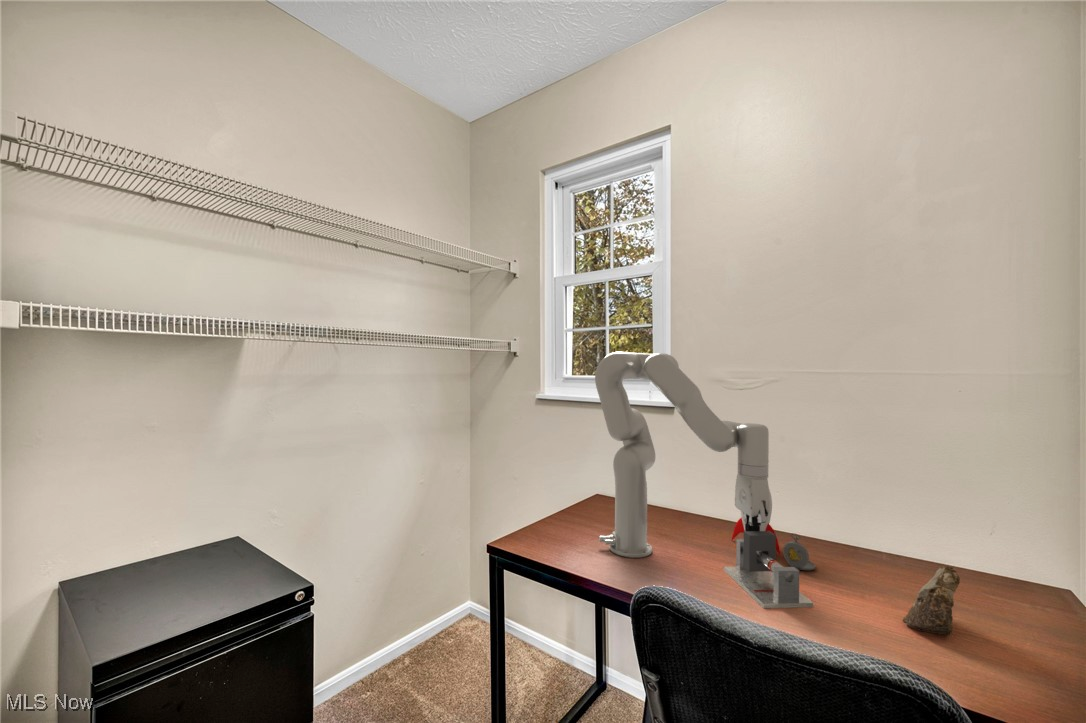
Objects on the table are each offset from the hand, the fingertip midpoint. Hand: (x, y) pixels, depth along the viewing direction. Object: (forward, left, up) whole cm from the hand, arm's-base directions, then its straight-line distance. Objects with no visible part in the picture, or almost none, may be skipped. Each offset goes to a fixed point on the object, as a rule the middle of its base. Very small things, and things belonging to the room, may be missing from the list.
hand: (752, 539), depth 125 cm
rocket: (+11, +19, -10) cm, 24 cm away
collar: (0, -4, -6) cm, 7 cm away
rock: (+26, -25, -10) cm, 38 cm away
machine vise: (0, -6, -10) cm, 12 cm away
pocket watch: (+16, +5, -10) cm, 19 cm away
